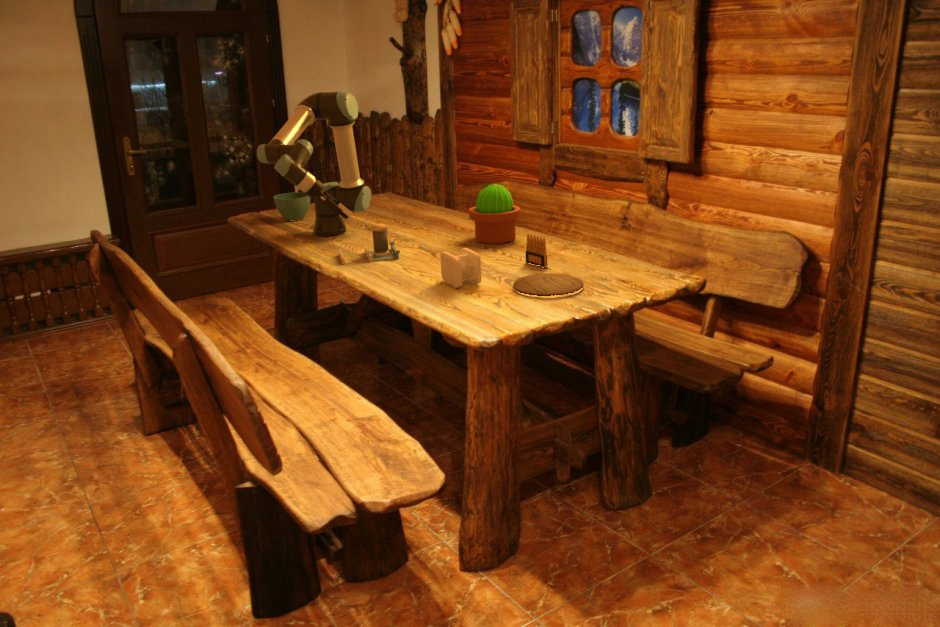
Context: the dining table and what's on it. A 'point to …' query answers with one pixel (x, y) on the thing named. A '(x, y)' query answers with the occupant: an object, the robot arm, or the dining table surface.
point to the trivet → (548, 284)
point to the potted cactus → (494, 215)
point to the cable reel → (380, 240)
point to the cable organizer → (461, 267)
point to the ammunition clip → (536, 251)
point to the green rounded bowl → (292, 205)
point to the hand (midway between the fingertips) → (351, 219)
